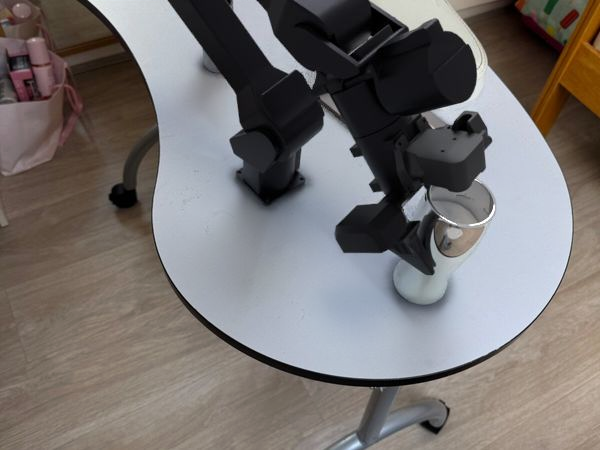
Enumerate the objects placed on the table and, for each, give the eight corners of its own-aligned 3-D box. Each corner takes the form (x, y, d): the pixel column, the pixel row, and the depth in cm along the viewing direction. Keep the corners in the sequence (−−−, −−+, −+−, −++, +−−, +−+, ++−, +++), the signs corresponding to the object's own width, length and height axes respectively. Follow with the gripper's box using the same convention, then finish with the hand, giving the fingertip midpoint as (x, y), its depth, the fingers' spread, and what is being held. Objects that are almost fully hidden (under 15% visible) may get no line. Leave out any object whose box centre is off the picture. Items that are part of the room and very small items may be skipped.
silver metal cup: (390, 250, 68) (424, 164, 56) (449, 261, 68) (496, 176, 56) (387, 303, 64) (424, 221, 52) (450, 313, 64) (501, 234, 52)
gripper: (383, 166, 44) (467, 323, 49) (500, 53, 53) (560, 195, 58) (296, 180, 53) (375, 311, 58) (409, 82, 62) (468, 202, 67)
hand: (448, 253), depth 60 cm, fingers closed on silver metal cup, 6 cm apart
